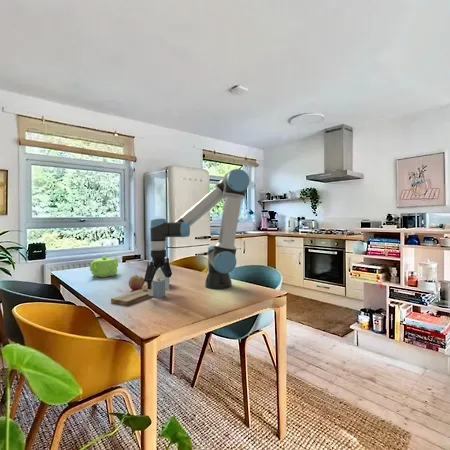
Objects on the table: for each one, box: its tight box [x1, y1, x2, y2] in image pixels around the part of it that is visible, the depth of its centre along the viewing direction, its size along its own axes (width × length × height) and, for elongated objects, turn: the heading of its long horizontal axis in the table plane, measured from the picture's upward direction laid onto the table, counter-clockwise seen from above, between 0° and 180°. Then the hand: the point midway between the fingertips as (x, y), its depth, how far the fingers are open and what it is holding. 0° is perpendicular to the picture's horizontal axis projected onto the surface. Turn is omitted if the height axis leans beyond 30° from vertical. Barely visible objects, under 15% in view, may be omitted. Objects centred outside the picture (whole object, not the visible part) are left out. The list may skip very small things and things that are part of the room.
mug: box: [154, 268, 171, 283], centre depth 169 cm, size 12×8×10 cm
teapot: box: [89, 256, 119, 278], centre depth 195 cm, size 18×20×13 cm
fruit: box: [128, 274, 146, 291], centre depth 158 cm, size 8×8×8 cm
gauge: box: [142, 278, 166, 298], centre depth 148 cm, size 12×5×9 cm, turn 63°
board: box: [110, 289, 153, 307], centre depth 143 cm, size 10×22×2 cm, turn 153°
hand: (158, 292), depth 146 cm, fingers open, 11 cm apart
